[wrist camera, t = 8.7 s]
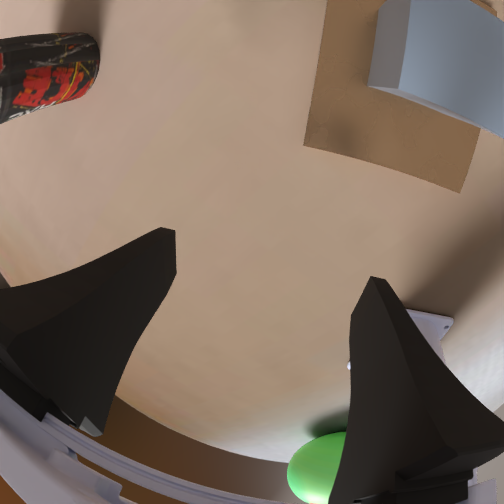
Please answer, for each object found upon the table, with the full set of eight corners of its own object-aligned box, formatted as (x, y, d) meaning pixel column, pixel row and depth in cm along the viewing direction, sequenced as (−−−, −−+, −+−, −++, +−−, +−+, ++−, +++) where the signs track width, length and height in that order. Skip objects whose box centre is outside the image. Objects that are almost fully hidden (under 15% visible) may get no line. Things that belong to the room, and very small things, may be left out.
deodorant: (85, 19, 13) (-90, 45, 1) (110, 71, 16) (-83, 130, 4) (45, 63, 15) (-102, 115, 3) (66, 112, 18) (-86, 190, 6)
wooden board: (455, 188, 16) (493, 230, 11) (303, 142, 17) (298, 170, 12) (491, 12, 7) (539, 4, 3) (334, -51, 9) (338, -95, 4)
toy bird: (385, 407, 32) (382, 504, 20) (405, 437, 38) (404, 508, 26) (276, 426, 40) (259, 506, 29) (319, 453, 46) (309, 515, 35)
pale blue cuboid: (445, 114, 13) (504, 139, 7) (367, 85, 13) (398, 89, 8) (458, 41, 10) (519, 33, 4) (378, 8, 10) (412, -27, 5)
